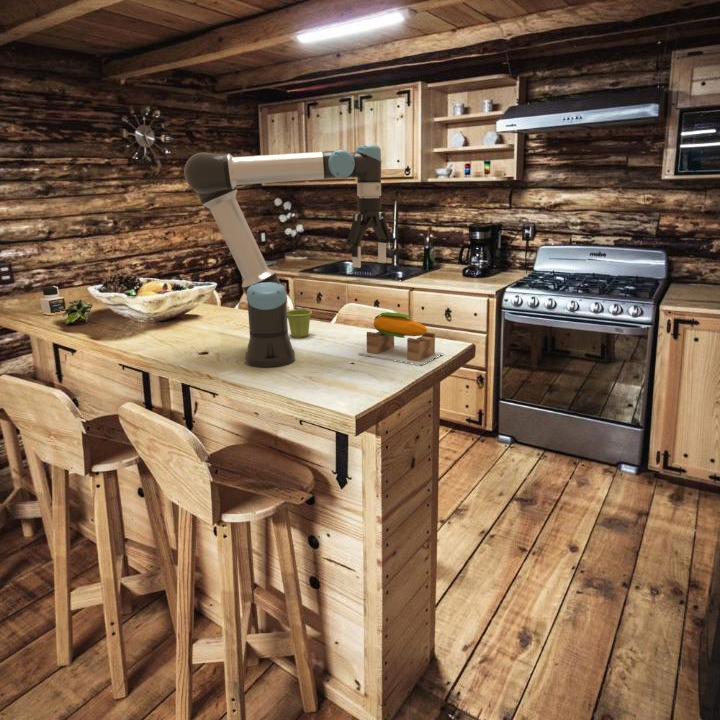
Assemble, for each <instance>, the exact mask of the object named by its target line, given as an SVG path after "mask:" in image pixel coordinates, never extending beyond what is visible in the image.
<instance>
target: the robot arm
mask: <svg viewBox="0 0 720 720" xmlns="http://www.w3.org/2000/svg"><path fill="white" fill-rule="evenodd" d="M382 162H383V161H382V150H381V147H380V146H379V145H372V144H370V145H369V144H367V145H358V146H357V147H356V151H355V152H349V151H348V150H345V149H337V150H326V151H313V152H312V151H311V152H296V153H295V152H294V153H281V154H279V153H278V154H275V153H274V154H263V155H261V154H259V155H248V156H247V155H246V156H233V155H232V154H231V153H212V152H203V151H202V152H197V153H195V154H193V155H191V156H190V157H189V158H188V159H187V161H186V163H185V165H184V169H183V170H184V172H183V173H184V175H183V176H184V179H185V182H186V183H187V185H188V186H189V187H190V188H191V189H192V190H193V191H195V192H196V195H197V197H198V198H199V202H200V203H201V205H202V206H203V207H206V208H208V209H209V210H210V212H211V215H212V216H213V218H214V221H215V222H216V225H217V226H218V229H219V231H220V233H221V235H222V237H223V240H224V242H225V243H226V246H227V247H228V249H229V251H230V253H231V256H232V258H233V260H234V261H235V264H236V266H237V269H238V271H239V272H240V275H241V276H242V278H243V281H242V284H241V288H242V289H243V292H244V294H245V297H246V302H247V314H248V328H249V341H248V346H247V351H246V353H245V363H246V364H247V365H249V366H252V367H256V368H257V367H258V368H273V367H274V368H275V367H281V366H286V365H289V364H291V363H293V362H294V361H295V359H296V352H295V350H294V348H293V347H292V342H291V339H290V337H289V330H288V329H289V323H288V318H287V311H288V307H287V304H288V294H287V291H286V288H285V286H284V285H283V284H281V281H280V280H279V278H278V275H277V273H276V271H275V270H274V269H273V270H272V269H270V268H269V267H268V265H267V263H266V260H265V257H264V256H263V254H262V251H261V250H260V247H259V246H258V243H257V241H256V239H255V237H254V235H253V233H252V229H250V226H249V224H248V222H247V220H246V217H245V215H244V213H243V211H242V209H241V207H240V205H239V202H238V201H237V198H236V197H237V193H238V189H237V187H236V186H239V185H252V184H255V185H256V184H267V183H282V182H295V181H309V180H325V179H326V180H328V179H329V180H331V179H351V178H353V179H355V178H356V179H357V181H356V182H357V184H356V186H357V187H356V188H357V189H356V191H357V194H356V196H357V197H359V198H357V210H358V211H359V213H354V214H352V222H351V226H350V230H349V233H348V238H347V240H346V245H348V247H351V257H352V268H359V269H360V268H361V267H362V263H361V258H362V256H361V253H362V250H361V249H362V247H361V246H360V243H361V242H362V240H363V237H364V235H365V233H366V231H367V230H368V229H370V228H372V229H373V231H374V233H375V235H376V237H377V239H378V241H379V242H377V245H378V246H377V247H378V248H377V253H378V254H377V263H380V264H386V263H387V244H389V243H390V241H391V240H392V239H391V238H392V237H391V234H390V230H389V228H388V223H387V220H386V212H381V211H380V210H382V198H381V196H382Z"/></svg>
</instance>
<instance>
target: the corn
mask: <svg viewBox="0 0 720 720" xmlns="http://www.w3.org/2000/svg"><path fill="white" fill-rule="evenodd" d="M410 318H412V316H410V315H408V314H404V313H399V312H392V311H391V312H389V311H388V312H381V313H380V314H378V315H376V316H375V317H374V319H373V327H374V328H375V330H376V331H377V332H381V333H383V334H385V335H389V336H394V338H400V339H401V338H403V339H404V338H406V337H421V336H422V335H423V334H424V333H426V332H428V328H427V327H426V326H425V325H424V324H423V323H420V322H417V321H415V320H412V319H410Z"/></svg>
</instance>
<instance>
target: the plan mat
mask: <svg viewBox="0 0 720 720" xmlns="http://www.w3.org/2000/svg"><path fill="white" fill-rule="evenodd" d="M358 354H359V355H358ZM441 354H443V355H444V352H438V351H435V354H433V355H431V356H429V357H427V358H425V359H423V360H421V361H413V360H407V346H401V345H395V344H394V348H391V349H389V350H386V351H384V352H382V353H379V354H372V353H367V349H365V350H362V351H359V352H358V353H357V355H358V356H361V355H365V356H364V357H367V356H371V357H370V358H373V357H377V358H376V359H378V358H383V359H382V360H384V359H389V360H388V361H390V360H396V361H402V362H407V363H413V364H418V365H422V366H424V365H425V364H424V363H426V362H428V361H430V360H432V359H434V358H436V357H437V356H439V355H441ZM436 359H437V358H436ZM434 360H435V359H434ZM432 361H433V360H432ZM430 362H431V361H430ZM407 363H406V364H407ZM428 363H429V362H428ZM423 364H424V365H423ZM426 364H427V363H426ZM418 365H417V366H418Z"/></svg>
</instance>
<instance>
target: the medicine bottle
mask: <svg viewBox="0 0 720 720" xmlns="http://www.w3.org/2000/svg"><path fill="white" fill-rule="evenodd" d="M42 294H43V297H40V298H39V303H40V307H41V313H42V312H47V313H55V312H60V311H65V310H64V309H67V308H66V307H67V305H66V300H65V297H64V296H60V291H59V287H58V286H55V285H49V286H44V287H43V288H42Z"/></svg>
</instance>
